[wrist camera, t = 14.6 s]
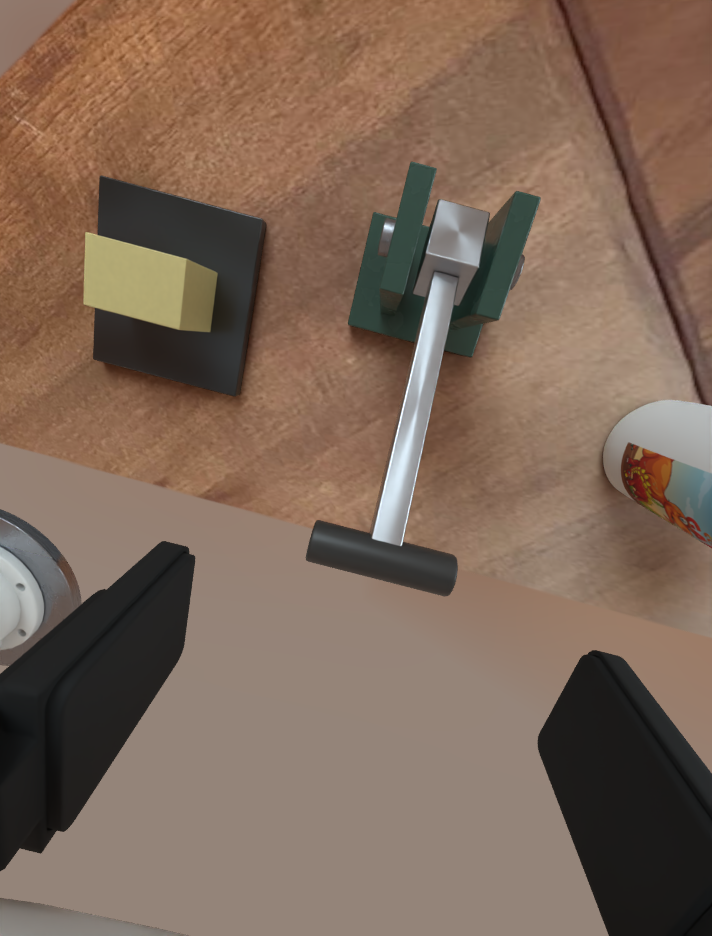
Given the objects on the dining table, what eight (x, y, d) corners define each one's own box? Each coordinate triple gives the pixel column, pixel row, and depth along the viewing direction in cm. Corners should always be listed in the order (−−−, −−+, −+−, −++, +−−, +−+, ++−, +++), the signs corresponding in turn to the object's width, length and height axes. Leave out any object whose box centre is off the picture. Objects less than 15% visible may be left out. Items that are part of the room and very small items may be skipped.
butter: (210, 332, 28) (179, 330, 24) (129, 311, 28) (83, 304, 23) (218, 272, 27) (186, 258, 22) (132, 250, 26) (84, 231, 22)
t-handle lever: (437, 594, 14) (458, 600, 12) (306, 560, 14) (303, 560, 12) (498, 264, 18) (524, 220, 16) (395, 236, 18) (405, 188, 16)
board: (240, 395, 30) (235, 396, 29) (101, 359, 30) (92, 359, 29) (266, 223, 26) (262, 218, 25) (109, 180, 26) (99, 174, 25)
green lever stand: (468, 357, 28) (534, 366, 16) (348, 325, 28) (323, 309, 16) (503, 252, 26) (610, 170, 14) (373, 217, 26) (367, 103, 14)
